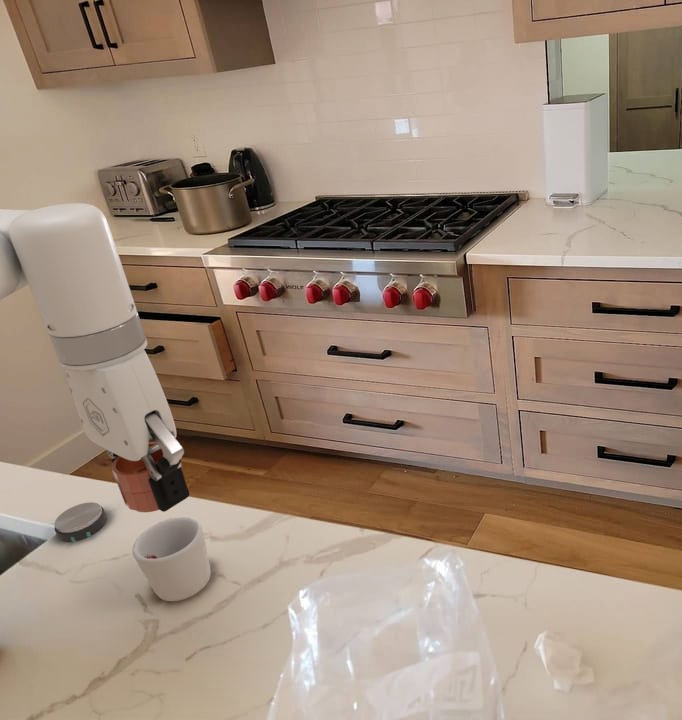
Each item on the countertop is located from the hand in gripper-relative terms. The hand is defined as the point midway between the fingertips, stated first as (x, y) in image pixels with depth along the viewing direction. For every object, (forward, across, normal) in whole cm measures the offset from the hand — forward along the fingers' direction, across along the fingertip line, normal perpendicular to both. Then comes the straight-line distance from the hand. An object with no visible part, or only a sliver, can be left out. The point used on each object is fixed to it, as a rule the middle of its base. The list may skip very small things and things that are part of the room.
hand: (155, 492), depth 72 cm
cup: (+19, -8, +3) cm, 21 cm away
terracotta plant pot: (+1, 0, 0) cm, 1 cm away
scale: (+19, -31, +1) cm, 36 cm away
